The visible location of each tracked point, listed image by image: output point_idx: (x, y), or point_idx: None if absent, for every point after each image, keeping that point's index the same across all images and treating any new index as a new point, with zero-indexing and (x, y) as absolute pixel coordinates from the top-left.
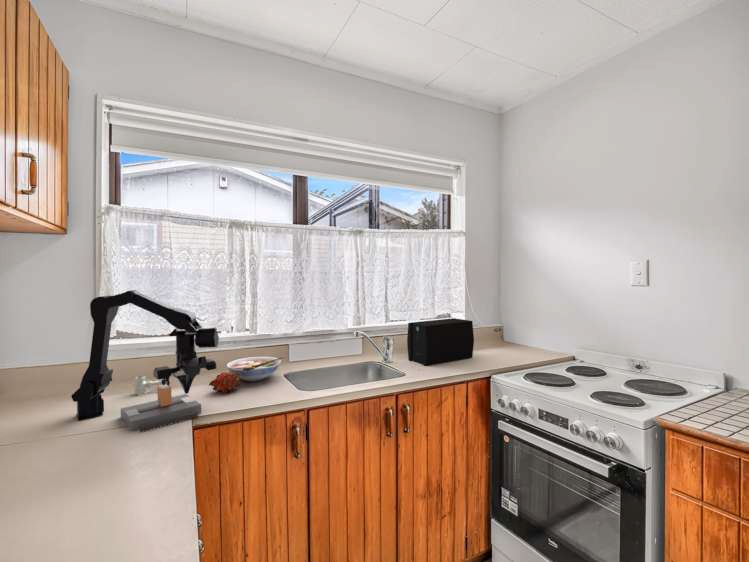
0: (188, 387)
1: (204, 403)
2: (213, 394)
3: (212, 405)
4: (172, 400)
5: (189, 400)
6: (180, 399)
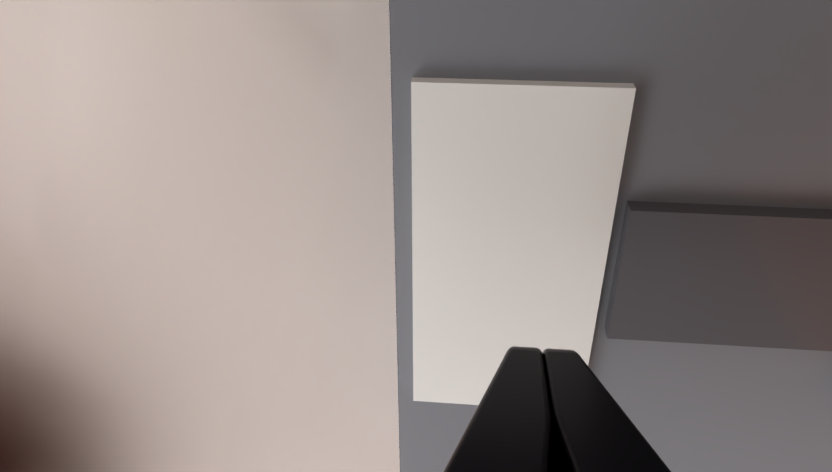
0: (522, 451)
1: (219, 224)
2: (51, 448)
3: (119, 31)
4: (708, 432)
5: (506, 193)
6: None
